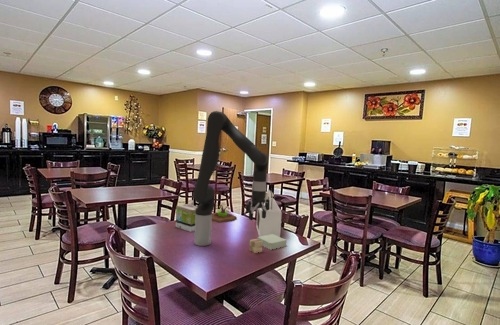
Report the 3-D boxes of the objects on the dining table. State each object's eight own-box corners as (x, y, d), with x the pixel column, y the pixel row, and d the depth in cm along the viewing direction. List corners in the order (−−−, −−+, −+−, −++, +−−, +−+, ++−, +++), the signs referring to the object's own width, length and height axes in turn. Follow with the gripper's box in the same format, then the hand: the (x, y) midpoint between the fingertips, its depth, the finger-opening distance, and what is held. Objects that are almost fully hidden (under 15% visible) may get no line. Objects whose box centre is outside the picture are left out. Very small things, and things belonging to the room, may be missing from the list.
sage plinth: (257, 243, 170) (257, 237, 170) (272, 240, 177) (272, 233, 177) (270, 250, 160) (270, 243, 160) (286, 246, 167) (286, 239, 167)
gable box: (280, 238, 181) (282, 194, 179) (259, 238, 180) (261, 193, 178) (274, 228, 203) (277, 188, 201) (256, 227, 202) (258, 187, 200)
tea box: (174, 227, 192) (175, 205, 191) (186, 224, 200) (187, 203, 199) (190, 232, 184) (191, 209, 183) (201, 229, 192) (202, 207, 191)
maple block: (249, 250, 158) (249, 240, 158) (256, 249, 161) (257, 238, 161) (254, 253, 154) (255, 243, 154) (262, 252, 157) (262, 241, 157)
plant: (203, 218, 220) (204, 203, 219) (224, 214, 233) (224, 201, 232) (219, 224, 205) (219, 209, 204) (240, 220, 218) (240, 206, 217)
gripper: (264, 187, 162) (263, 215, 163) (244, 189, 154) (242, 218, 155) (273, 189, 156) (271, 219, 157) (252, 191, 148) (250, 222, 149)
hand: (257, 219), depth 156 cm, fingers open, 8 cm apart
